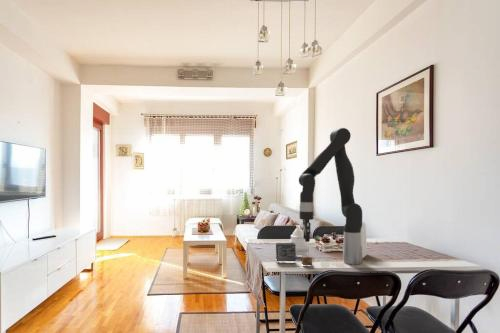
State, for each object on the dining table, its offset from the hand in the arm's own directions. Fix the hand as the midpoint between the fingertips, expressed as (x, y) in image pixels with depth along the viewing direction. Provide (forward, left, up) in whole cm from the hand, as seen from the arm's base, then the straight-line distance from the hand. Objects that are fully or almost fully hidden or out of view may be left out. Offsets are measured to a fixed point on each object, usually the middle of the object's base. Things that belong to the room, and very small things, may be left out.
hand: (306, 240), depth 195 cm
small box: (+11, -7, -14) cm, 19 cm away
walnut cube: (0, 0, -14) cm, 14 cm away
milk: (-32, -24, -14) cm, 42 cm away
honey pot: (+2, -25, -14) cm, 29 cm away
